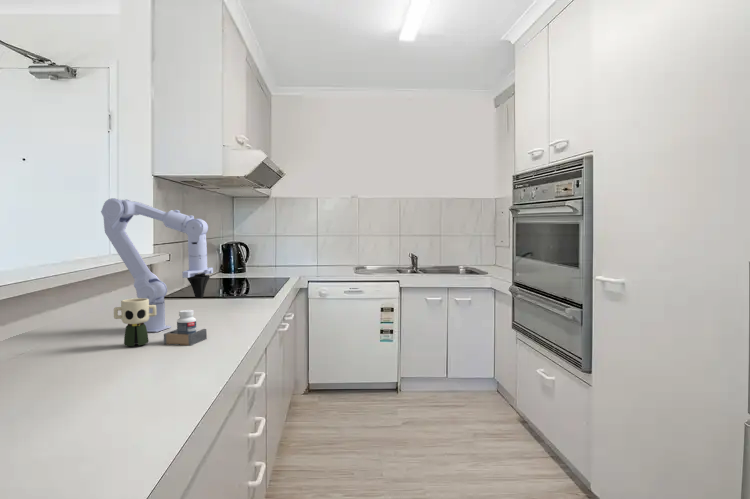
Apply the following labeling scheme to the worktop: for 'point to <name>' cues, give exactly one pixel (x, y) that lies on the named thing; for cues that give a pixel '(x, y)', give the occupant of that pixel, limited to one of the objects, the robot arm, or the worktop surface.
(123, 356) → the worktop surface
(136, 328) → the character mug
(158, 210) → the robot arm
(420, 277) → the worktop surface
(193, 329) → the pill bottle
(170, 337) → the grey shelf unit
